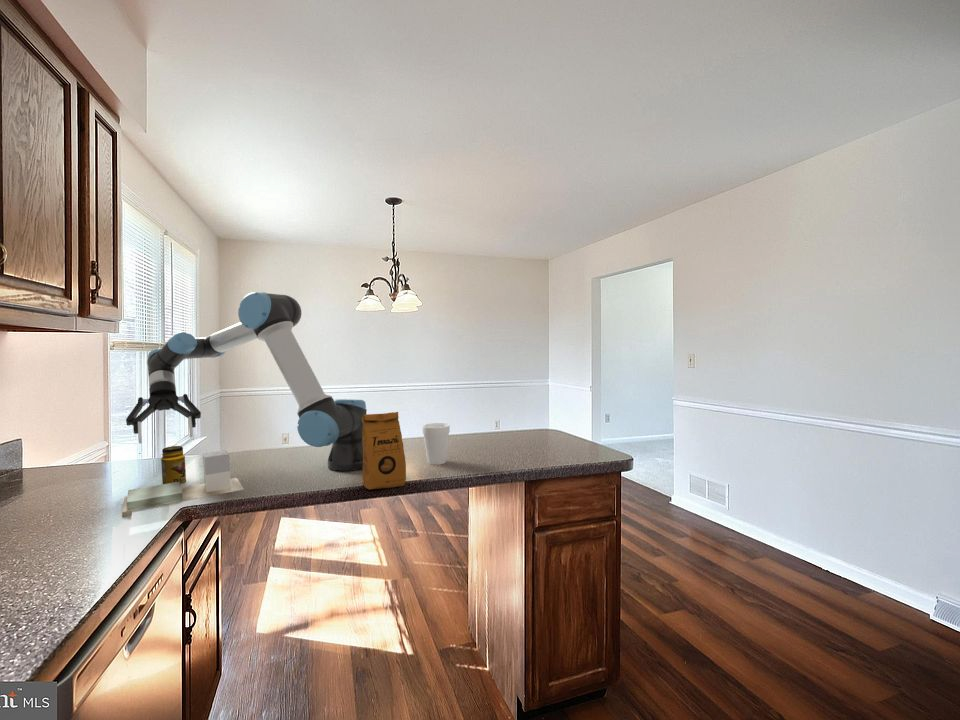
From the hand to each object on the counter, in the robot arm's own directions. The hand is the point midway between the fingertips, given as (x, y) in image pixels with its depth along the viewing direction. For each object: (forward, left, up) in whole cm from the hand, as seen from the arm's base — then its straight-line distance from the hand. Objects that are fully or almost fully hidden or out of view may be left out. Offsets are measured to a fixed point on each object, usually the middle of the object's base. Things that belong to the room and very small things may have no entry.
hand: (166, 438), depth 149 cm
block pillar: (-25, +9, -12) cm, 29 cm away
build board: (-19, +14, -13) cm, 27 cm away
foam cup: (-81, -29, -14) cm, 87 cm away
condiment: (-7, +6, -14) cm, 17 cm away
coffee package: (-72, -2, -14) cm, 73 cm away
